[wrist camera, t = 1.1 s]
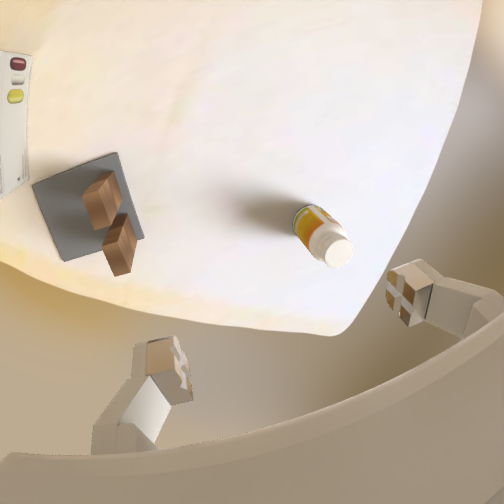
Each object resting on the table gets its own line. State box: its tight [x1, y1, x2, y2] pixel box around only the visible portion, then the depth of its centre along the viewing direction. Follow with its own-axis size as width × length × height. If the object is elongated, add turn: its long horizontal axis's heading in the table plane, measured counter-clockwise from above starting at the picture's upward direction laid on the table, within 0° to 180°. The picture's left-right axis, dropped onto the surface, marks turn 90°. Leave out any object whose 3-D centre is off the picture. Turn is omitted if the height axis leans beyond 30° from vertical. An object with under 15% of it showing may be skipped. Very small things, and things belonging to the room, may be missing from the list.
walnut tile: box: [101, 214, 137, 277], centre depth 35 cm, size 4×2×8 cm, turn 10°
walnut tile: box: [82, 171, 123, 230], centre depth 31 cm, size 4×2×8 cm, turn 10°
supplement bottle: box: [293, 205, 353, 268], centre depth 40 cm, size 5×5×10 cm
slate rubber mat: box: [32, 153, 144, 262], centre depth 36 cm, size 12×13×1 cm
